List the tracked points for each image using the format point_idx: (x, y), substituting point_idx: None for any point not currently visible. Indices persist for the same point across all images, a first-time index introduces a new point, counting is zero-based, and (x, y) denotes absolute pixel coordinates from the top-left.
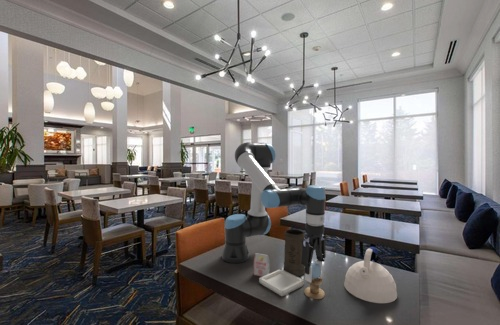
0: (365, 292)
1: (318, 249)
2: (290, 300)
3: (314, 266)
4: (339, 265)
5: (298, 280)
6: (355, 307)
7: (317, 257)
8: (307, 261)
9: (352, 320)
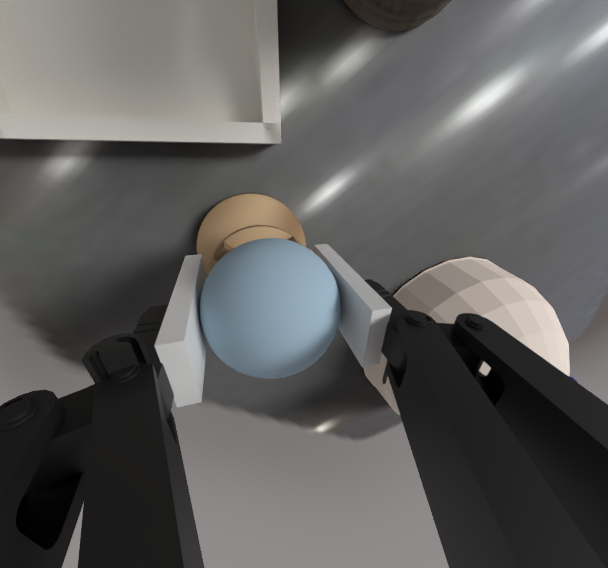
0: (378, 384)
1: (462, 564)
2: (61, 213)
3: (254, 373)
4: (589, 142)
5: (260, 98)
6: (304, 375)
7: (406, 342)
8: (42, 546)
9: (234, 409)
